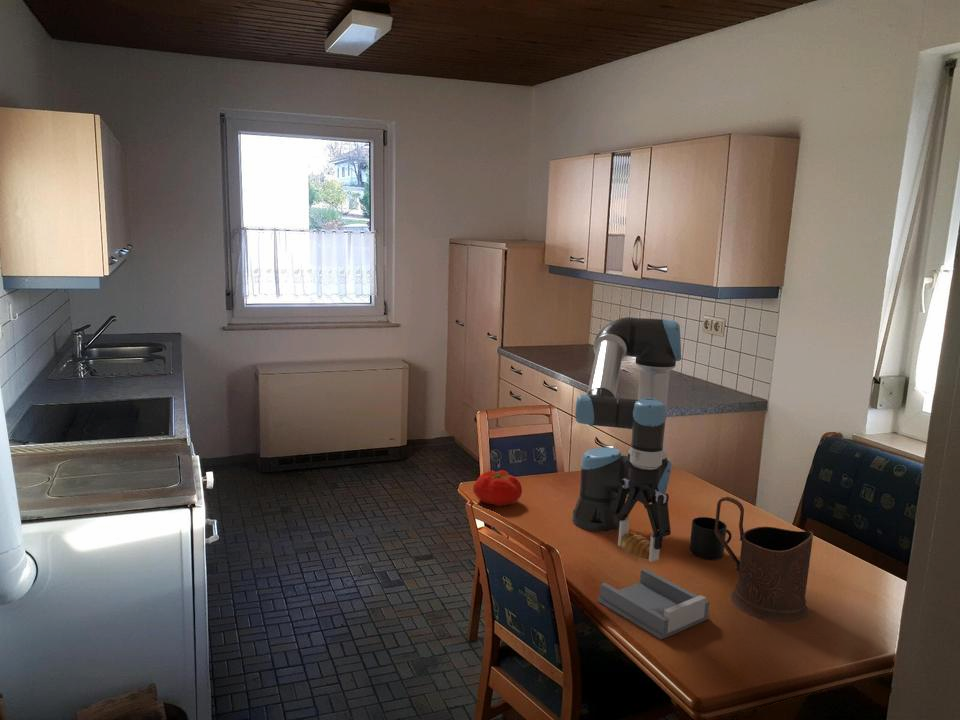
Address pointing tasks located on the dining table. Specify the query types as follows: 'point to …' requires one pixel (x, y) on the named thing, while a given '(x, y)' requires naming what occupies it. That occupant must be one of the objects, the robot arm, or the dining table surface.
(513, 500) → the tomato
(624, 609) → the tray
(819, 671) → the dining table surface
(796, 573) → the brown pitcher
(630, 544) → the pastry
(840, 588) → the dining table surface
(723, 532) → the mug
